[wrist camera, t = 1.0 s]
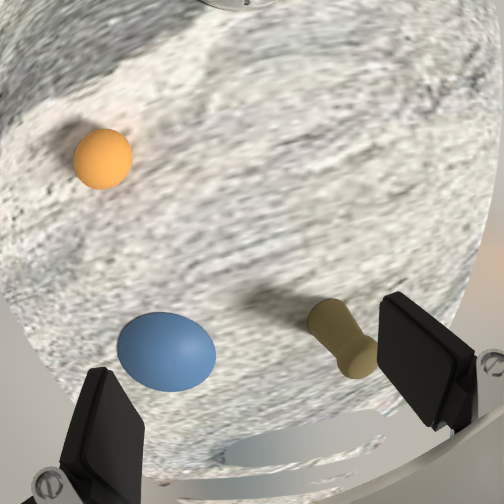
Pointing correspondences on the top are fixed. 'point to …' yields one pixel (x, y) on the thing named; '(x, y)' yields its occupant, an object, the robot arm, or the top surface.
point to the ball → (103, 159)
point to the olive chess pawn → (343, 338)
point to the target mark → (166, 352)
